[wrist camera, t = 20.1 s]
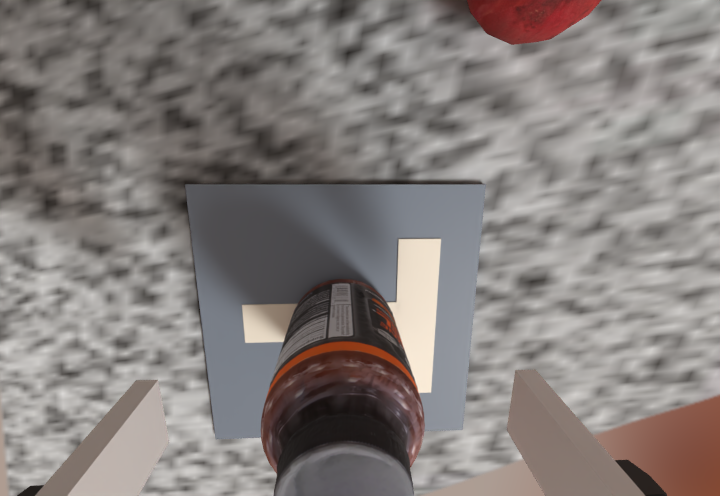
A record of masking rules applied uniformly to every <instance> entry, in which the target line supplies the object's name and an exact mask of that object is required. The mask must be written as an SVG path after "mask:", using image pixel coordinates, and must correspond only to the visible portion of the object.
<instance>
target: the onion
mask: <svg viewBox="0 0 720 496" xmlns="http://www.w3.org/2000/svg"><path fill="white" fill-rule="evenodd" d="M600 1H601V0H467V2H468V6H469V9H470V12H471V14H472V15H473V16H474V18H475V19H476V20H477V21H478V23H479V24H480V25H481V27H482V28H483V29H484V31H485V32H486V33H487V34H489V35H491V36H493V37H496V38H498V39H500V40H502V41H505V42H507V43H509V44H512V45H514V44H522V43H531V42H539V41H544V40H549V39H552V38H553V37H555V36H556V35H558V34H559V33H561V32H563V31H564V30H566V29H567V28H569V27H570V26H572V25H574V24H575V23H577V22H578V21H580V20H581V19H583V18H584V17H586V16H587V15H589V14H590V13H591V11H592V10H593V9H594V8H595V7H596V6H597V5H598V4H599V2H600Z"/></svg>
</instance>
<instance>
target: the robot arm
mask: <svg viewBox="0 0 720 496" xmlns="http://www.w3.org/2000/svg"><path fill="white" fill-rule="evenodd" d="M507 431H508V433H509V435H510V436H511V438H512V440H513V441H514V443H515V445H516V447H517V448H518V450H519V452H520V453H521V455H522V457H523V459H524V460H525V462H526V464H527V465H528V467H529V469H530V470H531V472H532V474H533V476H534V477H535V479H536V481H537V482H538V484H539V486H540V488H541V489H542V491H543V493H544V494H545V496H667V494H666V493H665V492H664V491H663V490H662V488H661V487H660V486H659V485H658V484H657V483H656V482H655V481H654V480H653V479H652V478H651V477H650V476H649V475H648V474H647V473H645V472H644V471H642V470H641V469H640V468H638V467H637V466H636V465H634V464H633V463H631V462H630V461H629V460H614V459H613V458H612V457H611V456H610V455H609V453H607V451H606V450H605V449H604V448H603V447H602V445H601V444H600V443H599V442H598V441H597V440H596V439H595V437H594V436H593V435H592V434H591V433H590V432H589V431H588V429H587V428H586V427H585V426H584V425H583V424H582V423H581V421H580V420H579V419H578V418H577V417H576V416H575V414H574V413H573V412H572V411H571V410H570V409H569V408H568V406H567V405H566V404H565V403H564V402H563V401H562V400H561V398H560V397H559V396H558V395H557V394H556V393H555V392H554V390H553V389H552V388H551V387H550V386H549V385H548V384H547V382H546V381H545V380H544V379H543V378H542V377H541V376H540V374H539V373H538V372H537V371H536V370H516V371H515V377H514V384H513V391H512V398H511V404H510V411H509V418H508V425H507ZM168 443H169V438H168V432H167V427H166V421H165V416H164V410H163V404H162V399H161V393H160V387H159V382H158V380H138V381H135V382H134V384H133V385H132V386H131V387H130V388H129V389H128V390H127V392H126V393H125V394H124V395H123V396H122V397H121V398H120V399H119V401H118V402H117V403H116V404H115V405H114V406H113V407H112V409H111V410H110V411H109V412H108V413H107V414H106V415H105V417H104V418H103V419H102V420H101V421H100V422H99V423H98V425H97V426H96V427H95V428H94V429H93V430H92V431H91V433H90V434H89V435H88V436H87V437H86V438H85V439H84V441H83V442H82V443H81V444H80V445H79V446H78V447H77V448H76V450H75V451H74V452H73V453H72V454H71V455H70V456H69V458H68V459H67V460H66V461H65V462H64V463H63V464H62V466H61V467H60V468H59V469H58V470H57V471H56V472H55V474H54V475H53V476H52V477H51V478H50V479H49V480H48V482H47V483H46V484H45V485H40V486H30V487H28V488H27V489H26V490H24V491H23V492H22V493H20V494H19V495H18V496H138V495H139V493H140V492H141V490H142V488H143V486H144V485H145V483H146V481H147V480H148V478H149V476H150V474H151V473H152V471H153V469H154V468H155V466H156V464H157V462H158V461H159V459H160V457H161V455H162V454H163V452H164V450H165V449H166V447H167V445H168Z"/></svg>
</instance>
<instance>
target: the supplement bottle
mask: <svg viewBox="0 0 720 496" xmlns="http://www.w3.org/2000/svg"><path fill="white" fill-rule="evenodd" d="M424 430H425V422H424V411H423V406H422V402H421V398H420V395H419V392H418V387H417V385H416V382H415V378H414V376H413V374H412V371H411V367H410V364H409V361H408V359H407V356H406V353H405V350H404V347H403V344H402V341H401V338H400V334H399V331H398V328H397V326H396V322H395V319H394V317H393V313H392V311H391V309H390V307H389V306H388V304H387V302H386V301H385V299H384V298H383V297H382V296H381V295H380V294H379V293H378V292H377V291H376V290H375V289H373V288H372V287H370V286H369V285H366V284H365V283H363V282H361V281H356V280H352V279H335V280H329V281H326V282H323V283H321V284H319V285H317V286H315V287H314V288H312V289H311V290H309V291H308V292H307V293H306V294H305V295H304V296H303V297H302V298H301V300H300V301H299V303H298V304H297V306H296V308H295V309H294V312H293V315H292V317H291V320H290V324H289V327H288V330H287V333H286V335H285V339H284V343H283V345H282V349H281V352H280V355H279V358H278V361H277V365H276V368H275V371H274V374H273V377H272V380H271V383H270V387H269V390H268V394H267V397H266V401H265V404H264V408H263V413H262V418H261V440H262V444H263V449H264V452H265V454H266V456H267V459H268V461H269V463H270V465H271V466H272V467H273V469H274V471H275V472H276V473H277V479H276V484H275V490H274V496H414V491H413V483H412V477H411V472H410V467H411V465H412V464H413V462H414V461H415V459H416V457H417V455H418V452H419V450H420V448H421V444H422V441H423V436H424Z"/></svg>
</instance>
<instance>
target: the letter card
mask: <svg viewBox="0 0 720 496" xmlns="http://www.w3.org/2000/svg"><path fill="white" fill-rule="evenodd" d="M485 187H486V185H485V184H185V189H186V197H187V206H188V214H189V222H190V231H191V239H192V247H193V256H194V264H195V272H196V280H197V289H198V297H199V305H200V314H201V322H202V330H203V339H204V347H205V355H206V364H207V372H208V380H209V388H210V397H211V405H212V413H213V422H214V430H215V438H216V439H234V438H260V437H261V418H262V413H263V408H264V404H265V401H266V397H267V394H268V390H269V387H270V383H271V380H272V377H273V374H274V371H275V368H276V365H277V361H278V358H279V355H280V352H281V349H282V345H283V343H284V339H285V335H286V333H287V330H288V327H289V324H290V320H291V317H292V315H293V312H294V309H295V308H296V306H297V304H298V303H299V301H300V300H301V298H302V297H303V296H304V295H305V294H306V293H307V292H308V291H309V290H311V289H312V288H314V287H315V286H317V285H319V284H321V283H323V282H326V281H329V280H335V279H352V280H356V281H361V282H363V283H365V284H366V285H369V286H370V287H372V288H373V289H375V290H376V291H377V292H378V293H379V294H380V295H381V296H382V297H383V298H384V299H385V301H386V302H387V304H388V306H389V307H390V309H391V311H392V313H393V317H394V319H395V322H396V326H397V328H398V331H399V334H400V338H401V341H402V344H403V347H404V350H405V353H406V356H407V359H408V361H409V364H410V367H411V371H412V374H413V376H414V378H415V382H416V385H417V387H418V392H419V395H420V398H421V402H422V406H423V411H424V422H425V430H424V431H443V430H463V421H464V410H465V400H466V389H467V378H468V368H469V357H470V346H471V336H472V325H473V315H474V304H475V293H476V283H477V272H478V262H479V251H480V240H481V230H482V219H483V209H484V198H485Z"/></svg>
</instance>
